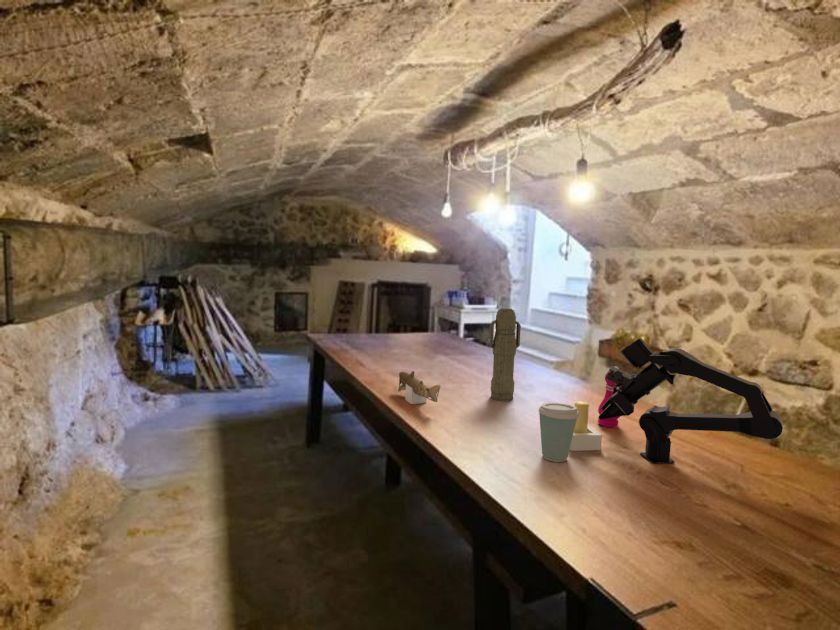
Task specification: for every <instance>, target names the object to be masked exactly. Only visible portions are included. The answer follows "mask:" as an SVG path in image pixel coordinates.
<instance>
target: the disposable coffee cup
mask: <svg viewBox="0 0 840 630" xmlns="http://www.w3.org/2000/svg"><path fill="white" fill-rule="evenodd" d="M538 409H539V410H538V414H539V429H540V441H541V455H542V457H543V458H544V459H545V460H547V461H550V462H554V463H563V462H566V460H567V459H568V456H569V453H570V450H569V449H570V445H571V441H572V437H573V433H574V429H575V424H576V420H577V418H578V416H579V412H578V411H577V407H575V405H572V404H567V403H561V402H560V403H559V402H546V403H543V404H541V405H540V407H539V408H538Z"/></svg>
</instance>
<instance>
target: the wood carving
mask: <svg viewBox="0 0 840 630" xmlns="http://www.w3.org/2000/svg"><path fill="white" fill-rule="evenodd" d="M398 377H399V379H398V389H397V391H398V392H401V391H405V401H406V402H408V403H409V404H410V405H417V404H427V400H430V401H431V402H434V403H438V397H439V392H440V390H441V384H435V385H433V386H431V387H429V386H427V384H425V383H424V382H423V380H420V379H418V378H416V377H415V370H412V371H411V372H410V373H408V372H405V371H399V373H398Z"/></svg>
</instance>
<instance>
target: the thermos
mask: <svg viewBox="0 0 840 630" xmlns="http://www.w3.org/2000/svg"><path fill="white" fill-rule="evenodd" d="M494 326H495V327H494ZM494 329H495V332H494ZM521 329H522V327H521V323H520V322H519V321H517V317H516V312H515V310H514V309H512V308H505V307H504V308H500V309H498V310H497V311H496V314H495V319H494V320H492V321H491V323H490V324H489V348H492V355H493V362H492V363H493V365H492V378H491V380H490V398H491V399H492V400H495V401H499V402H509V401H513V400H514V392H515V379H514V370H515V369H514V368H515V356H516V352H517V349H518V348H519V347H520V344H521V342H520V341H521ZM515 330H516V332H515Z"/></svg>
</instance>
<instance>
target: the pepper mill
mask: <svg viewBox="0 0 840 630" xmlns="http://www.w3.org/2000/svg"><path fill="white" fill-rule="evenodd" d="M614 367H615V368H617V369H619V366H616V365H615V366H614ZM619 370H620V369H619ZM607 373H608V371H607V372H606V373H605V375H604V381H605V382H606V383H605V386H604V388H605V394H604V397H603V399H602V400H601V401H600V404H599V406H598V409H597V412H598V414H599V415H600V414H601V413H602V412H603V410H602V409H601V407H602V406H603V405H604V404H605V403H606V402H607V400H608V399H609V398H610V397H611V396H612V394H613V389H614V385H615V384H616V383H614V382H613V381H611V380H610V381H609V380H608V379H606V378H605V377H606V374H607ZM617 387H618V386H617ZM619 418H621V416H619V417H613V418H608V419H603V420H601V419H600V418H599V417H598V419H597V423H598V424H599V425H600V426H603V427H605V428H609V429H610V428H611V429H613V428H618V426H619V420H618V419H619Z"/></svg>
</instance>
